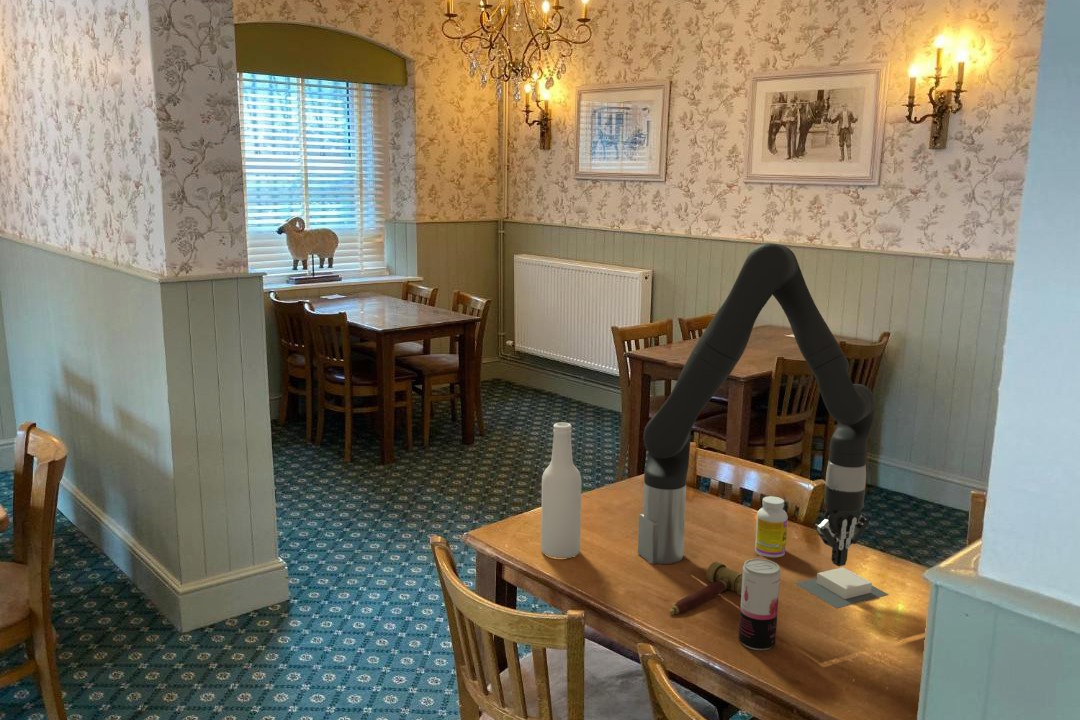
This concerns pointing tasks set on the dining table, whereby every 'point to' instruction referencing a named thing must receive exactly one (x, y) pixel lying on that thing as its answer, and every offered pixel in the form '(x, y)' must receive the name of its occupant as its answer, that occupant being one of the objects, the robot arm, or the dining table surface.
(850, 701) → the dining table surface
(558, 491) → the alcohol
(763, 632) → the beverage can
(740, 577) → the gavel
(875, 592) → the mat
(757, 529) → the supplement bottle
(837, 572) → the tile
